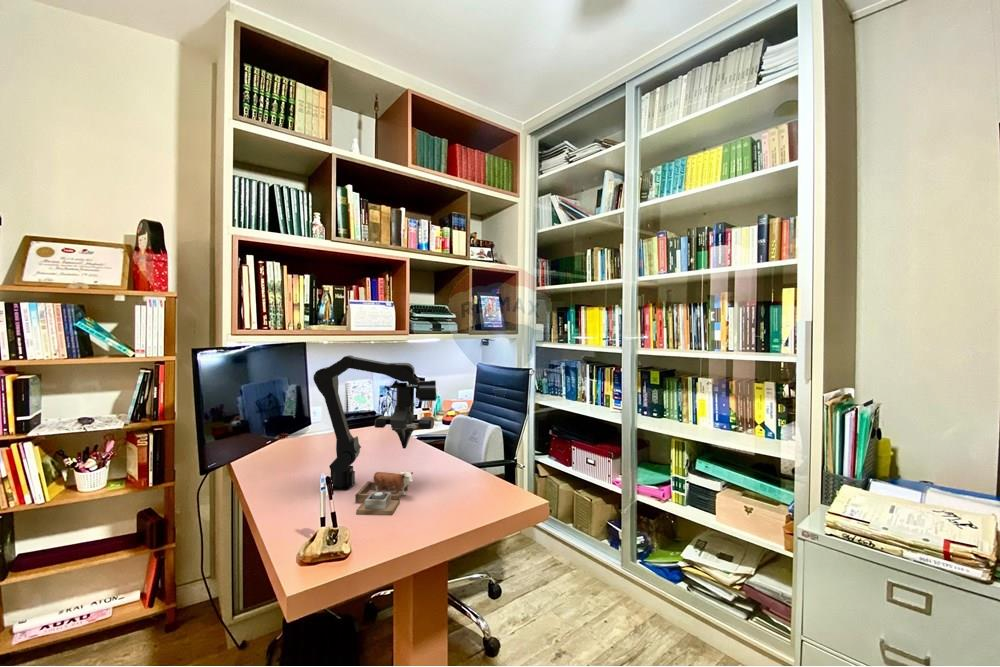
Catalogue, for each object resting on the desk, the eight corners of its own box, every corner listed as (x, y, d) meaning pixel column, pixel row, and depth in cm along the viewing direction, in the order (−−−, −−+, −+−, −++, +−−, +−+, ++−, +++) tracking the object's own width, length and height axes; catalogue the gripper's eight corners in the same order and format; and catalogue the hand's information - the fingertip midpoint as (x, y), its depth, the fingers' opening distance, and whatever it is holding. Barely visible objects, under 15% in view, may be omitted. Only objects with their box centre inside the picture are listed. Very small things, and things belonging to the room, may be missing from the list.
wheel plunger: (369, 507, 115) (370, 496, 115) (374, 501, 119) (374, 491, 119) (382, 507, 115) (382, 496, 115) (386, 502, 119) (386, 491, 118)
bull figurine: (410, 501, 122) (411, 474, 122) (370, 496, 126) (371, 470, 126) (417, 496, 127) (417, 469, 126) (378, 491, 130) (379, 465, 130)
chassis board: (345, 514, 113) (345, 500, 113) (367, 489, 131) (367, 477, 131) (392, 515, 113) (392, 501, 113) (407, 490, 131) (407, 478, 131)
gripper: (368, 405, 128) (367, 454, 128) (426, 406, 127) (426, 456, 127) (380, 399, 139) (380, 444, 139) (434, 400, 138) (434, 446, 138)
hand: (404, 448), depth 136 cm, fingers closed
